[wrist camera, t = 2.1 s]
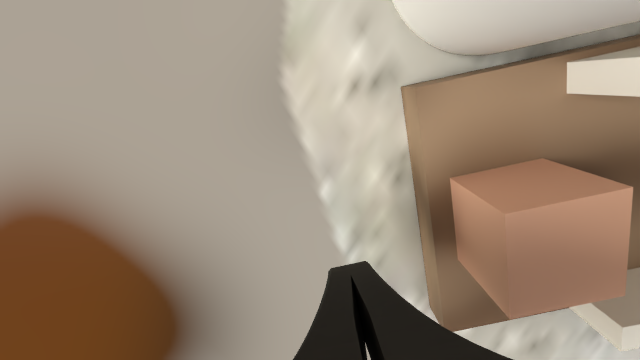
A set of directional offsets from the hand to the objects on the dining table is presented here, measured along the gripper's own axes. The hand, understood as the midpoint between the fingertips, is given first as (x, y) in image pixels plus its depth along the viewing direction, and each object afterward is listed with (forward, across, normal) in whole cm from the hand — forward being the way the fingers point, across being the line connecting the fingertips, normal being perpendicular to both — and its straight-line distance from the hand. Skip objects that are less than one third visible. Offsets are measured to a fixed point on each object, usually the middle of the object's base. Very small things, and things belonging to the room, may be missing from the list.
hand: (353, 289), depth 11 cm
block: (+3, -7, 0) cm, 8 cm away
